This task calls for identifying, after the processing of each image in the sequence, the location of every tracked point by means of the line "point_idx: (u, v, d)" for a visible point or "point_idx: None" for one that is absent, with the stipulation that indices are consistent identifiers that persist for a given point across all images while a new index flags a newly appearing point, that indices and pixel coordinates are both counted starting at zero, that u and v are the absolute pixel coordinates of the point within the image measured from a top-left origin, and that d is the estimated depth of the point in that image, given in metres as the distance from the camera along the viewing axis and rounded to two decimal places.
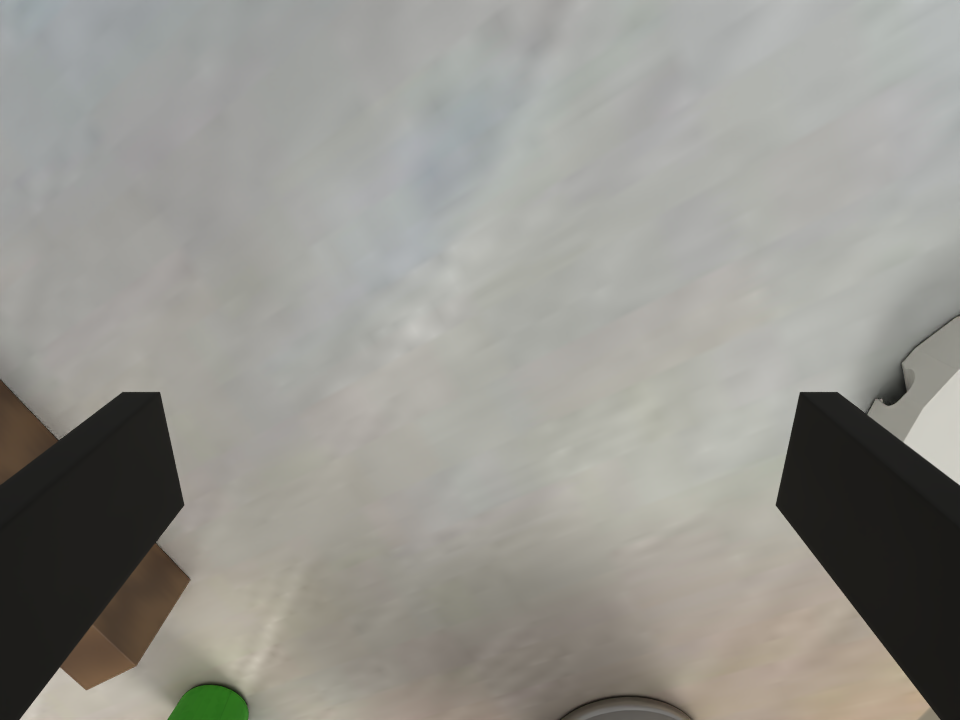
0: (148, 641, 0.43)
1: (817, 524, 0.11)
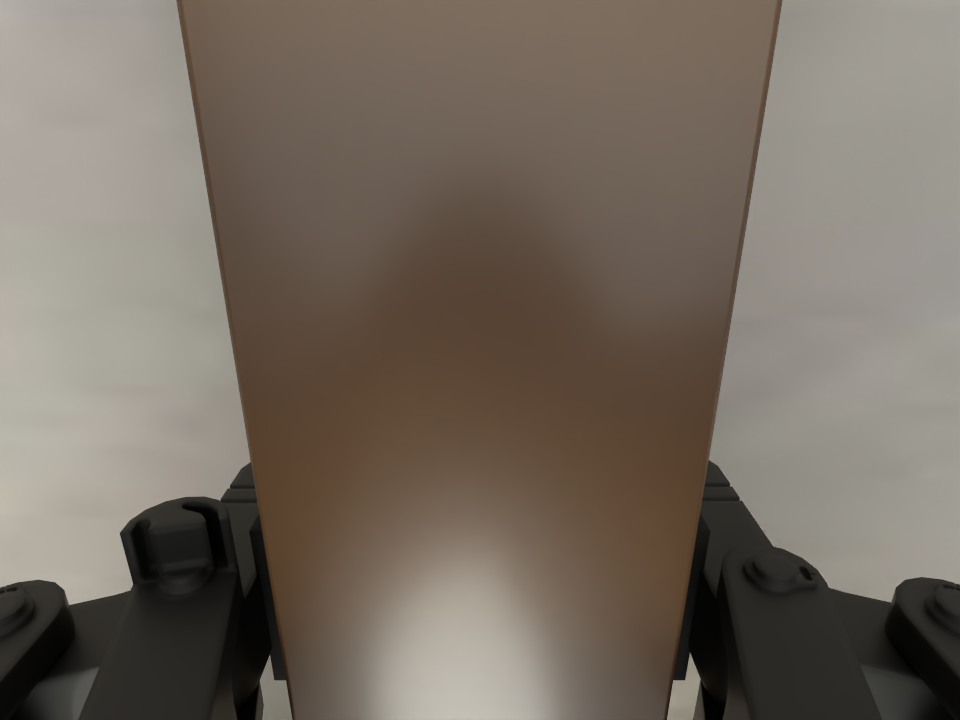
0: None
1: None
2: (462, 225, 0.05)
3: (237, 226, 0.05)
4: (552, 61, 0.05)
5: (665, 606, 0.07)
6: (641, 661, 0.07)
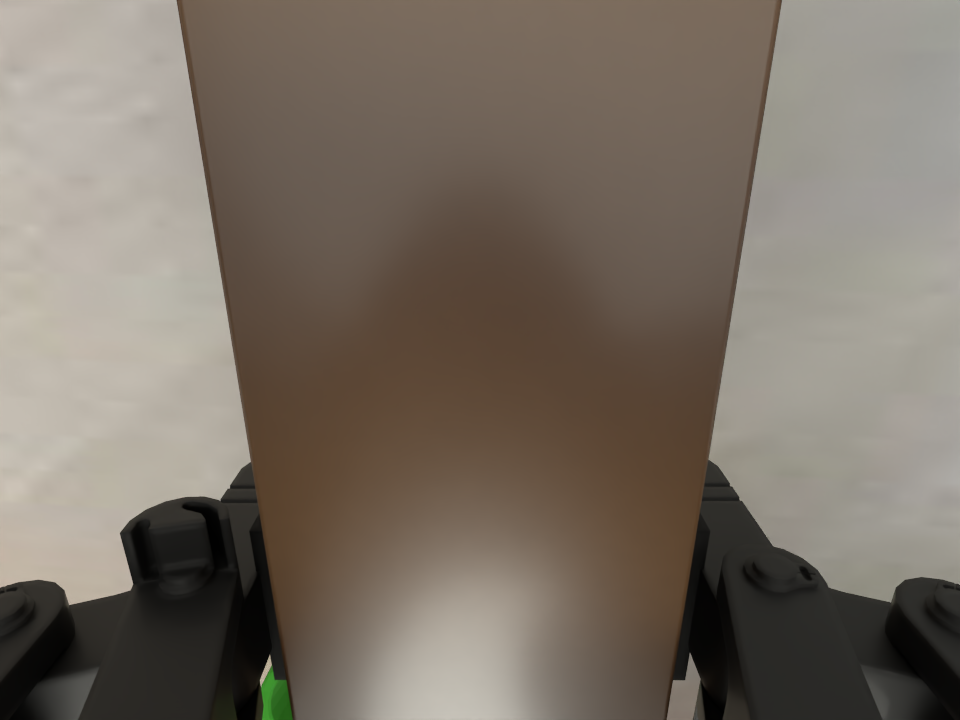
0: None
1: None
2: (462, 223, 0.05)
3: (237, 224, 0.05)
4: (552, 58, 0.05)
5: (665, 604, 0.07)
6: (641, 659, 0.07)
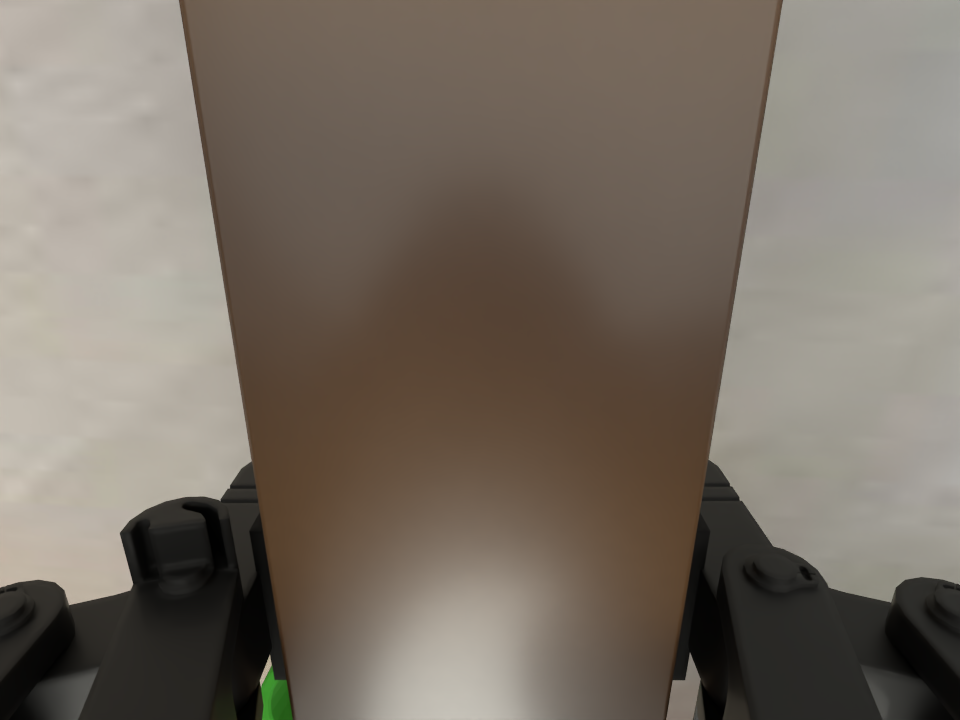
0: None
1: None
2: (463, 223, 0.05)
3: (238, 223, 0.05)
4: (553, 58, 0.05)
5: (665, 604, 0.07)
6: (641, 660, 0.07)
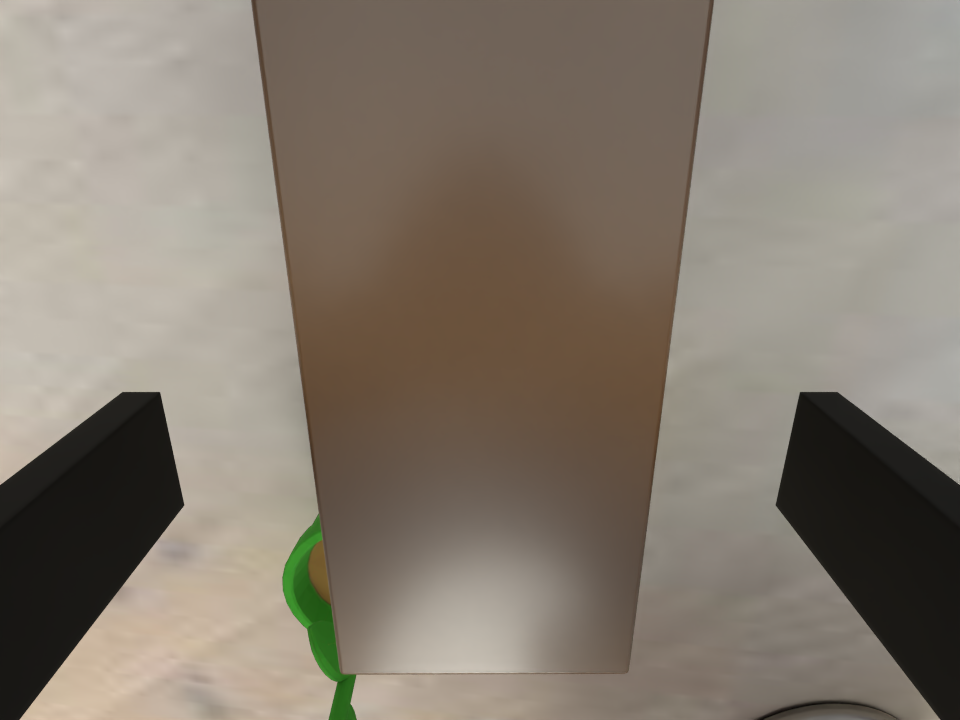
0: None
1: (817, 524, 0.12)
2: (467, 3, 0.06)
3: (273, 5, 0.06)
4: None
5: (647, 384, 0.08)
6: (627, 440, 0.08)
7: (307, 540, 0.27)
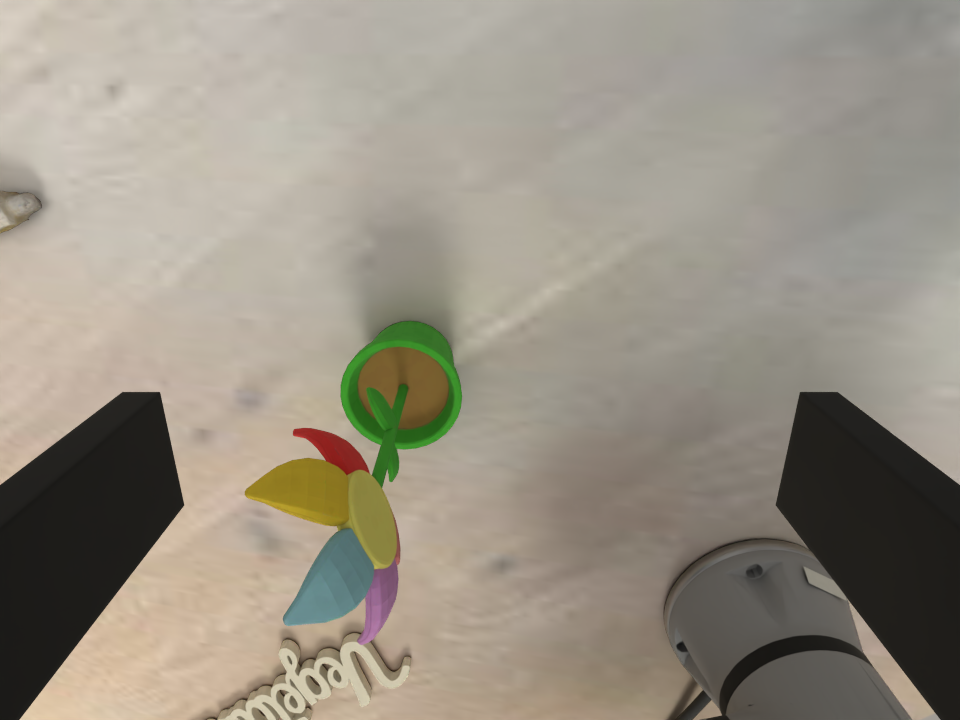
0: None
1: (817, 524, 0.12)
2: None
3: None
4: None
5: None
6: None
7: (360, 354, 0.38)
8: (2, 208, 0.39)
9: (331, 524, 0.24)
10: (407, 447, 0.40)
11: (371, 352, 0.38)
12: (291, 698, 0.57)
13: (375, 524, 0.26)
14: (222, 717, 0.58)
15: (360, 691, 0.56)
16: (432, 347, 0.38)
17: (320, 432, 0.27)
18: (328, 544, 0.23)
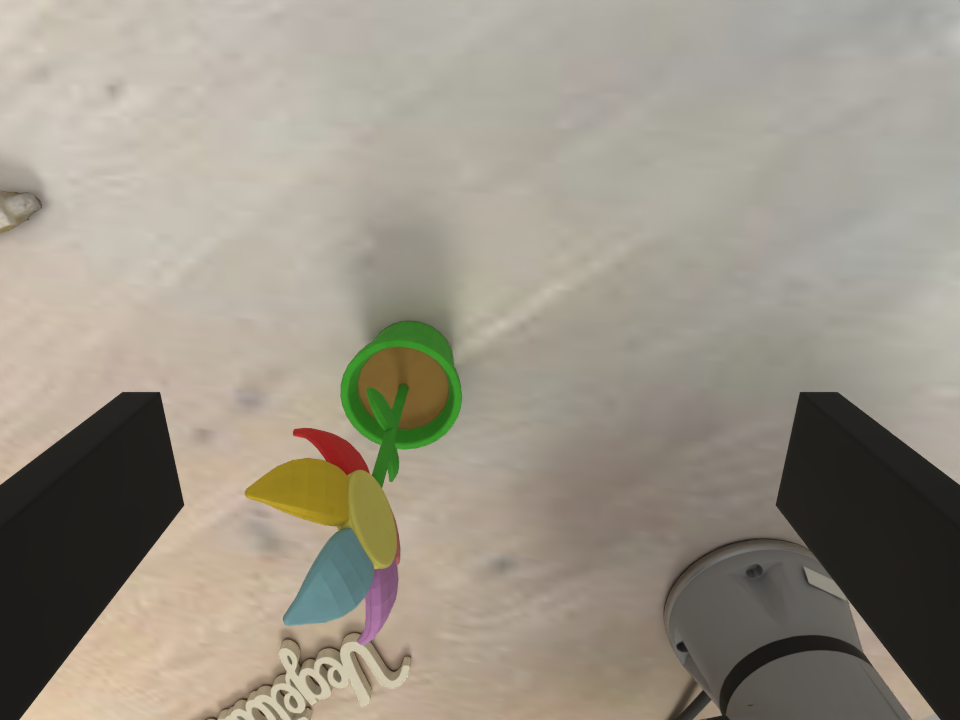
0: None
1: (817, 524, 0.12)
2: None
3: None
4: None
5: None
6: None
7: (360, 354, 0.38)
8: (2, 208, 0.39)
9: (331, 524, 0.24)
10: (407, 447, 0.40)
11: (371, 352, 0.38)
12: (291, 698, 0.57)
13: (375, 524, 0.26)
14: (222, 717, 0.58)
15: (360, 691, 0.56)
16: (432, 347, 0.38)
17: (320, 432, 0.27)
18: (328, 544, 0.23)
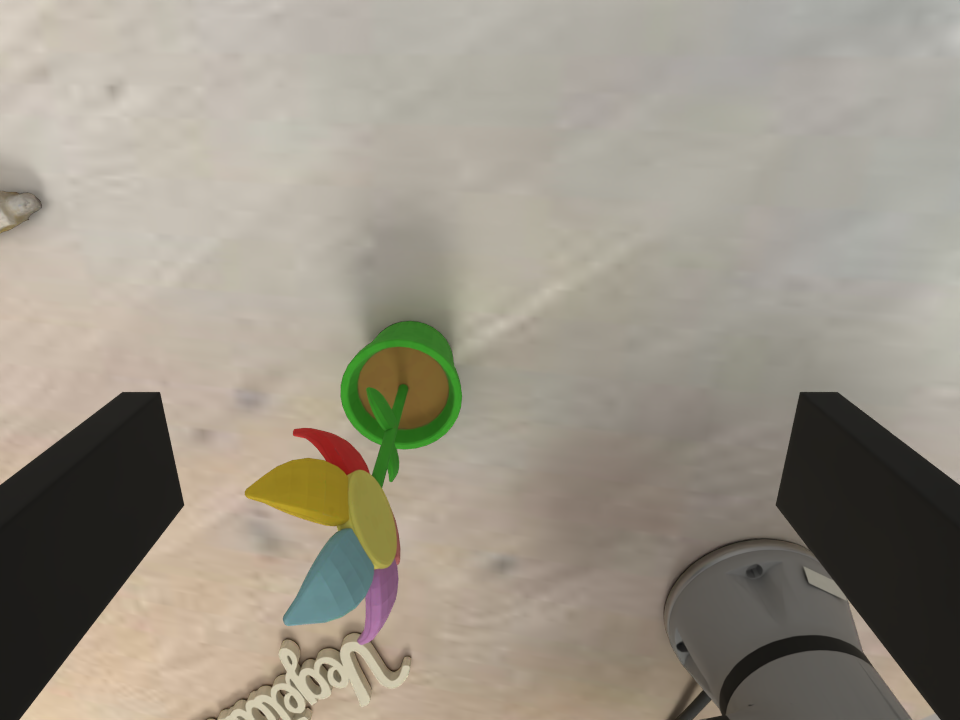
0: None
1: (817, 524, 0.12)
2: None
3: None
4: None
5: None
6: None
7: (360, 354, 0.38)
8: (2, 208, 0.39)
9: (331, 524, 0.24)
10: (407, 447, 0.40)
11: (371, 352, 0.38)
12: (291, 698, 0.57)
13: (375, 524, 0.26)
14: (222, 717, 0.58)
15: (360, 691, 0.56)
16: (432, 347, 0.38)
17: (320, 432, 0.27)
18: (328, 544, 0.23)
